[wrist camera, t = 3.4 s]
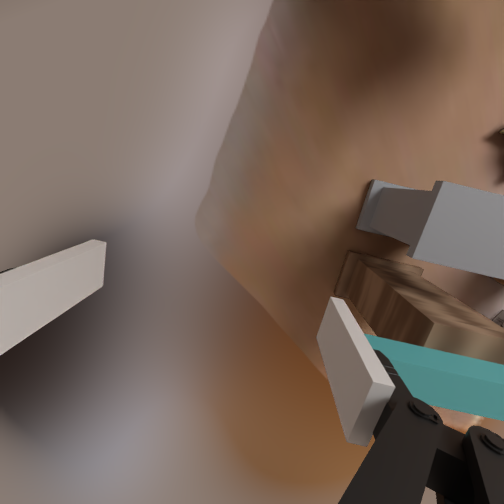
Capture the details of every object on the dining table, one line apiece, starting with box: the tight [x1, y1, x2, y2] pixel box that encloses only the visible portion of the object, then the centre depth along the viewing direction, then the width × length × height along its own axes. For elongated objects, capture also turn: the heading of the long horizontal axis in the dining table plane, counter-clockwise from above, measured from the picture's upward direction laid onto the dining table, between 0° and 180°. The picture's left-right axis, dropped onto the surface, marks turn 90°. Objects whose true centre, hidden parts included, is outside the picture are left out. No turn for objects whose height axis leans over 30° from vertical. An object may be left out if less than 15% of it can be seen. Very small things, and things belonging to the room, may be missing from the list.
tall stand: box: [334, 251, 504, 365], centre depth 45 cm, size 16×10×30 cm, turn 77°
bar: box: [364, 334, 504, 421], centre depth 28 cm, size 28×4×4 cm, turn 77°
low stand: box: [356, 180, 504, 280], centre depth 45 cm, size 16×10×22 cm, turn 77°
